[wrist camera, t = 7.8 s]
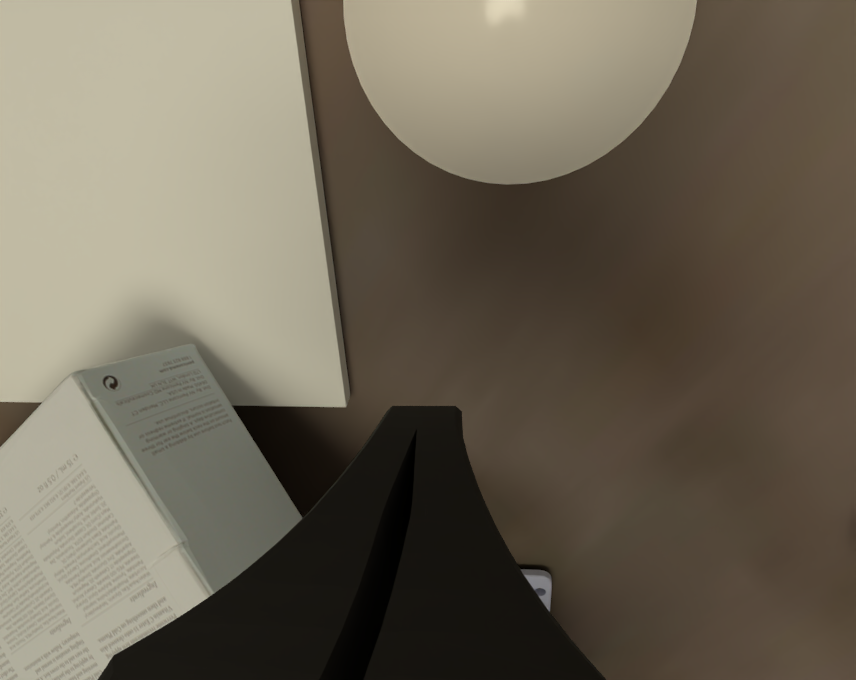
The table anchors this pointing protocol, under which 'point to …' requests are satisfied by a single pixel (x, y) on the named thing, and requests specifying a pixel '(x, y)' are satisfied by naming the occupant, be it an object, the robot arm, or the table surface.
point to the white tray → (164, 197)
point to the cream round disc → (515, 77)
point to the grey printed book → (125, 512)
